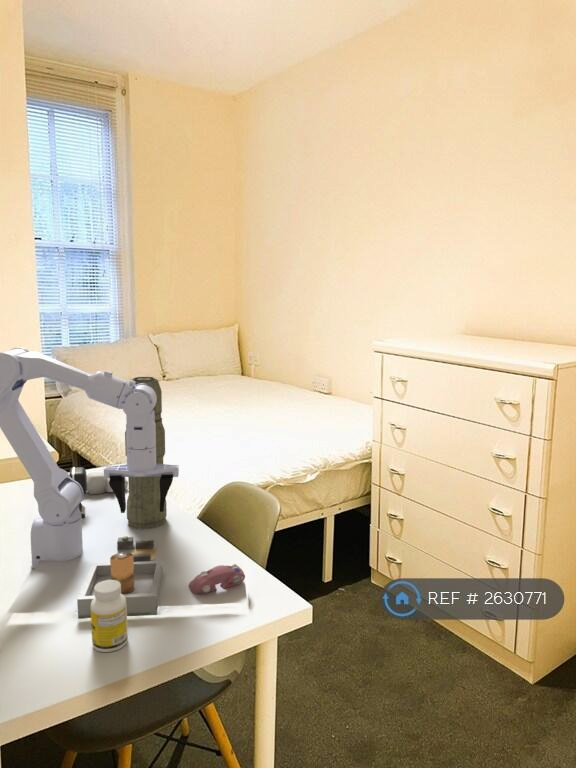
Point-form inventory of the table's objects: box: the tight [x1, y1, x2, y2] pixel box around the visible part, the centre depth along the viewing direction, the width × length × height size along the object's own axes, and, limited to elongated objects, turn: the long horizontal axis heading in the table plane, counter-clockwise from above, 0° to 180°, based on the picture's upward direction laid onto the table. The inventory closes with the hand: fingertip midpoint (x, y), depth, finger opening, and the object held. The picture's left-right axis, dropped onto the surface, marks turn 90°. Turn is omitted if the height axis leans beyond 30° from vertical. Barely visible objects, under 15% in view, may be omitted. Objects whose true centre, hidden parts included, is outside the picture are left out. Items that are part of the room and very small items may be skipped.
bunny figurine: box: [86, 471, 129, 495], centre depth 160 cm, size 10×5×15 cm
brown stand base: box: [116, 535, 157, 562], centre depth 121 cm, size 12×10×4 cm
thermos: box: [124, 376, 168, 530], centre depth 135 cm, size 9×12×35 cm
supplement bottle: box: [90, 579, 129, 653], centre depth 93 cm, size 5×5×10 cm
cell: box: [109, 551, 135, 594], centre depth 107 cm, size 4×4×8 cm
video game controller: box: [188, 564, 246, 595], centre depth 109 cm, size 10×5×7 cm, turn 119°
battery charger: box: [68, 466, 88, 519], centre depth 144 cm, size 7×4×11 cm, turn 18°
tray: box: [76, 560, 164, 619], centre depth 108 cm, size 13×13×4 cm
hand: (142, 510), depth 121 cm, fingers open, 7 cm apart
